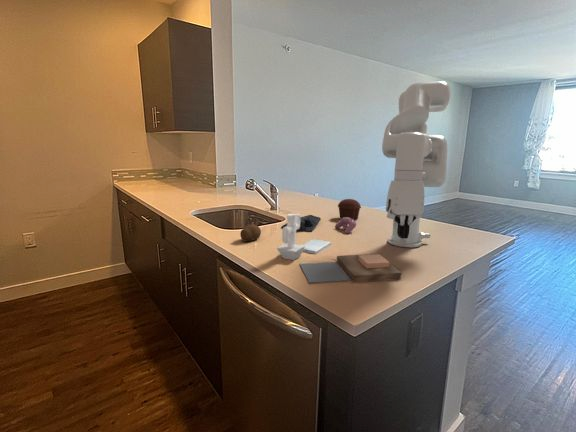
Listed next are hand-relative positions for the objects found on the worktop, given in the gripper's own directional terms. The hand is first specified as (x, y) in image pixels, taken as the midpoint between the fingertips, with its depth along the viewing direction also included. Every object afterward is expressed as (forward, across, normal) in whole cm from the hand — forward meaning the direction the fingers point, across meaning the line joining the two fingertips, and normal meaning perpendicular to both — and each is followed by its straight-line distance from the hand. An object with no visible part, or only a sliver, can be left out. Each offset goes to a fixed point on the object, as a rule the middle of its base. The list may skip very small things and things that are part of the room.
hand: (402, 237), depth 97 cm
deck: (+10, +10, -1) cm, 15 cm away
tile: (+8, +8, -1) cm, 12 cm away
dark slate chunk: (+10, +19, -57) cm, 61 cm away
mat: (+10, +24, -1) cm, 26 cm away
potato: (+10, +44, -38) cm, 59 cm away
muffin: (+8, -7, -66) cm, 67 cm away
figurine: (+10, +31, -16) cm, 37 cm away
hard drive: (+11, +21, -25) cm, 34 cm away
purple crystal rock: (+9, +2, -45) cm, 46 cm away
